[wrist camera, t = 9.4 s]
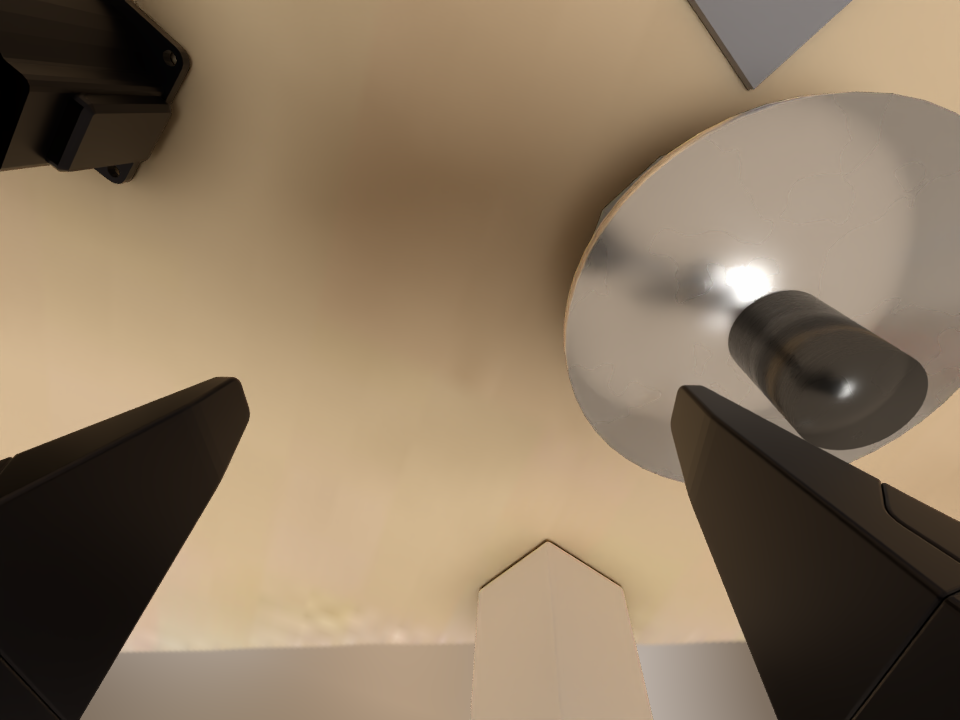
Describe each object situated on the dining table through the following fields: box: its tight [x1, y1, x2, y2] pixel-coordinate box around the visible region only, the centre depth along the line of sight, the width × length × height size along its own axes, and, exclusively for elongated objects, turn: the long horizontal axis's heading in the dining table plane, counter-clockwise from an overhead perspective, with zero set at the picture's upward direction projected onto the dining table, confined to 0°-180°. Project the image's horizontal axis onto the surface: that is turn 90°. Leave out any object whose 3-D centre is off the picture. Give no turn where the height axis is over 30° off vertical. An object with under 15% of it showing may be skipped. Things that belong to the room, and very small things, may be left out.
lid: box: [564, 92, 960, 483], centre depth 13 cm, size 14×14×5 cm
